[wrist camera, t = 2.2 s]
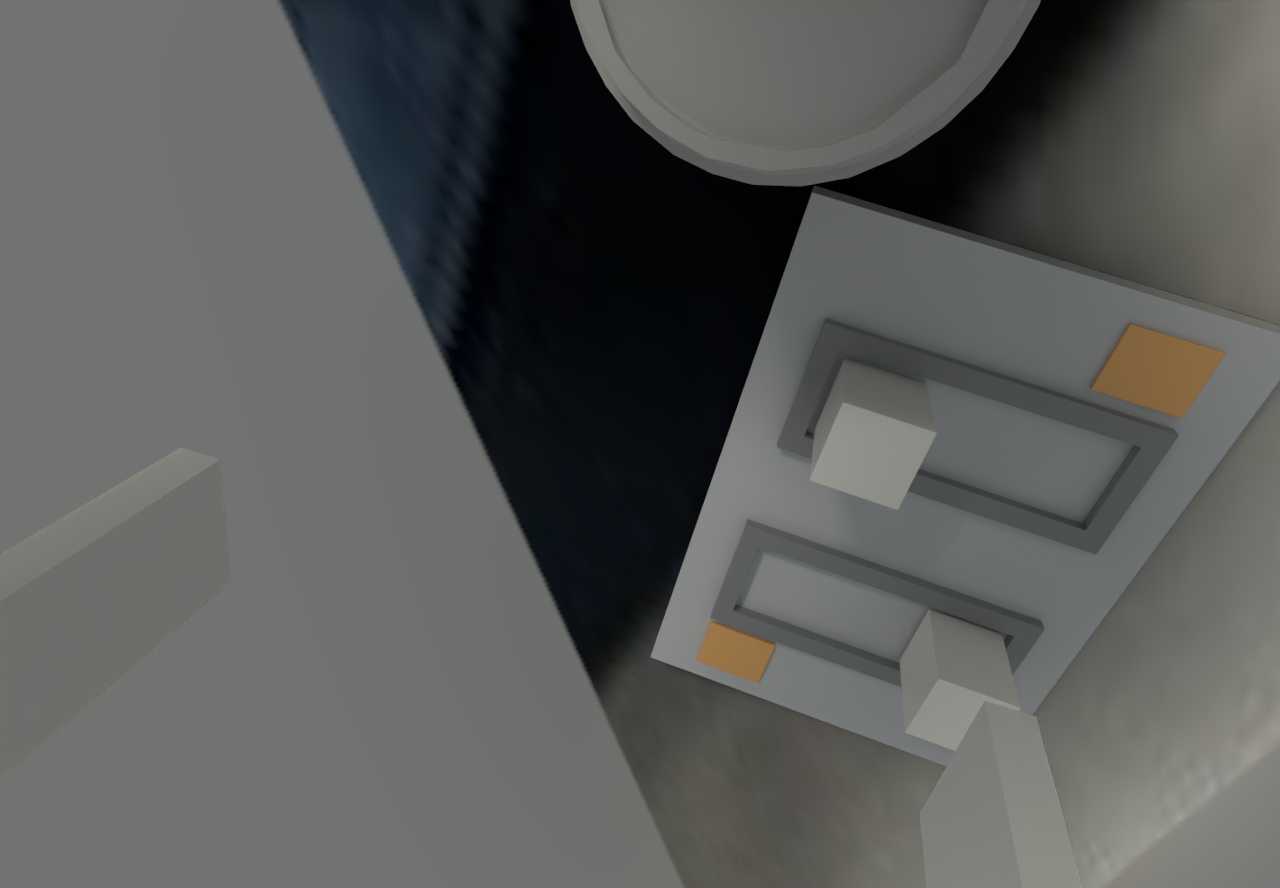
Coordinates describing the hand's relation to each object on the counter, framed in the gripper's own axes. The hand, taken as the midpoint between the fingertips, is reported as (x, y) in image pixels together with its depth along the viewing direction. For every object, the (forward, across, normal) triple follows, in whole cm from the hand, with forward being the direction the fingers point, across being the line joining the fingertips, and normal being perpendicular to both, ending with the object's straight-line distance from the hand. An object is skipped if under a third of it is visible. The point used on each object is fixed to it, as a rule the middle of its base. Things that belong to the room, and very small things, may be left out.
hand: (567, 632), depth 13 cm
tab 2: (+17, +12, -11) cm, 24 cm away
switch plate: (+19, +9, -6) cm, 22 cm away
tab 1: (+17, +6, -2) cm, 18 cm away
